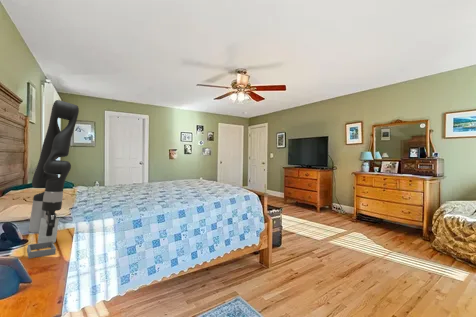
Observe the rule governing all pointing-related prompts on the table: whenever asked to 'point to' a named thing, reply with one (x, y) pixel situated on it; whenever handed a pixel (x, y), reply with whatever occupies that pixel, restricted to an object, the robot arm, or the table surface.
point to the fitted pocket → (41, 252)
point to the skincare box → (43, 228)
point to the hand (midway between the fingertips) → (47, 233)
